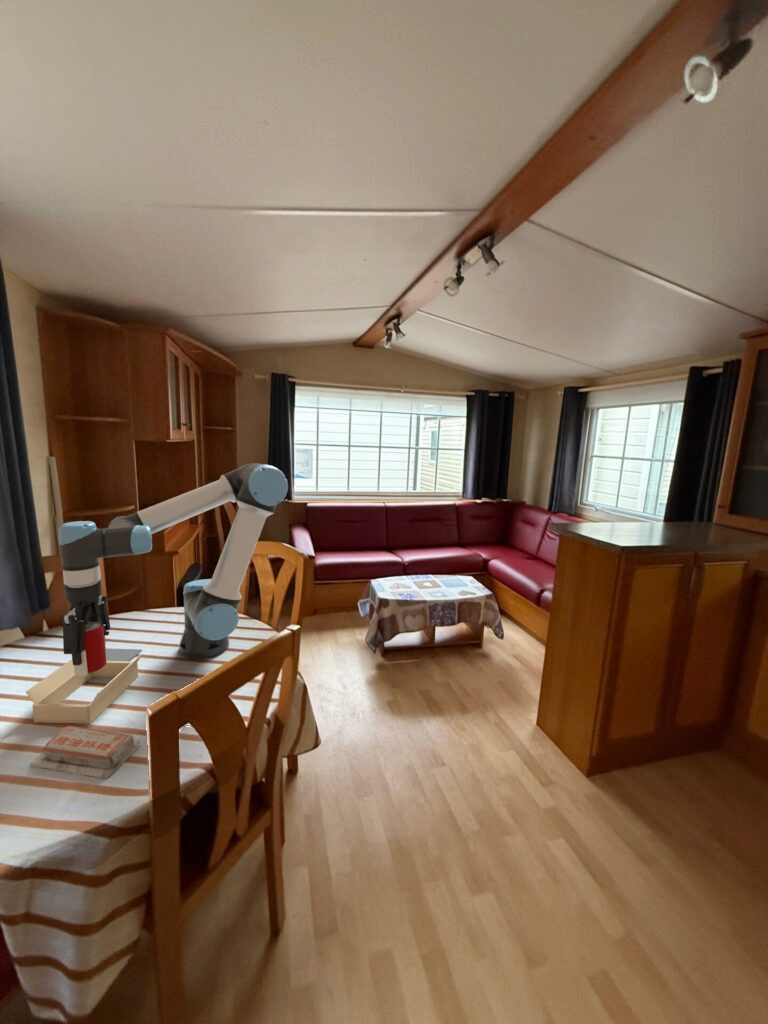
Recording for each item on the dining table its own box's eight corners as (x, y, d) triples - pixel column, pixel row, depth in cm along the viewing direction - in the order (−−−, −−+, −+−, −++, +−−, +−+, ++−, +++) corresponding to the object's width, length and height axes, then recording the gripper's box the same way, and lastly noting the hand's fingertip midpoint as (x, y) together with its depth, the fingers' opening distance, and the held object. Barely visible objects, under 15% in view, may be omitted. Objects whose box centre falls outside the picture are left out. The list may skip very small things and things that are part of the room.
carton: (145, 676, 118) (144, 651, 117) (98, 724, 98) (96, 695, 97) (85, 674, 118) (83, 650, 116) (25, 722, 97) (22, 693, 96)
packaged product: (141, 727, 91) (105, 760, 81) (142, 746, 92) (107, 781, 82) (70, 716, 94) (27, 747, 84) (72, 735, 94) (29, 768, 85)
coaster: (141, 650, 132) (141, 649, 132) (119, 670, 120) (119, 669, 120) (103, 649, 132) (103, 648, 132) (77, 669, 120) (77, 668, 120)
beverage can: (104, 659, 111) (100, 617, 109) (109, 669, 107) (105, 626, 105) (73, 668, 107) (68, 625, 105) (77, 679, 102) (73, 634, 100)
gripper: (93, 570, 112) (101, 647, 116) (35, 597, 93) (47, 689, 97) (121, 570, 113) (128, 648, 116) (69, 597, 93) (79, 689, 97)
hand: (91, 666), depth 107 cm, fingers closed on beverage can, 7 cm apart
